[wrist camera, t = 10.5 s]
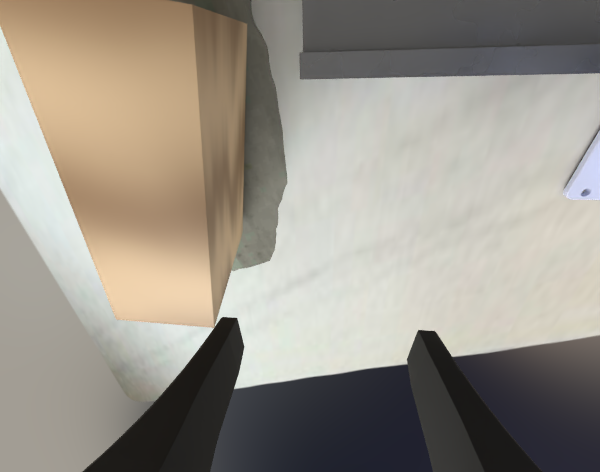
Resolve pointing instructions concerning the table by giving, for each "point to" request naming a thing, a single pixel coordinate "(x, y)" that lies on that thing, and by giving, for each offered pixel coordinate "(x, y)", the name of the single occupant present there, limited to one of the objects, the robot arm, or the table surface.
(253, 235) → the stone slab
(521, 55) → the rack
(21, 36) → the oak board
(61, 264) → the table surface
